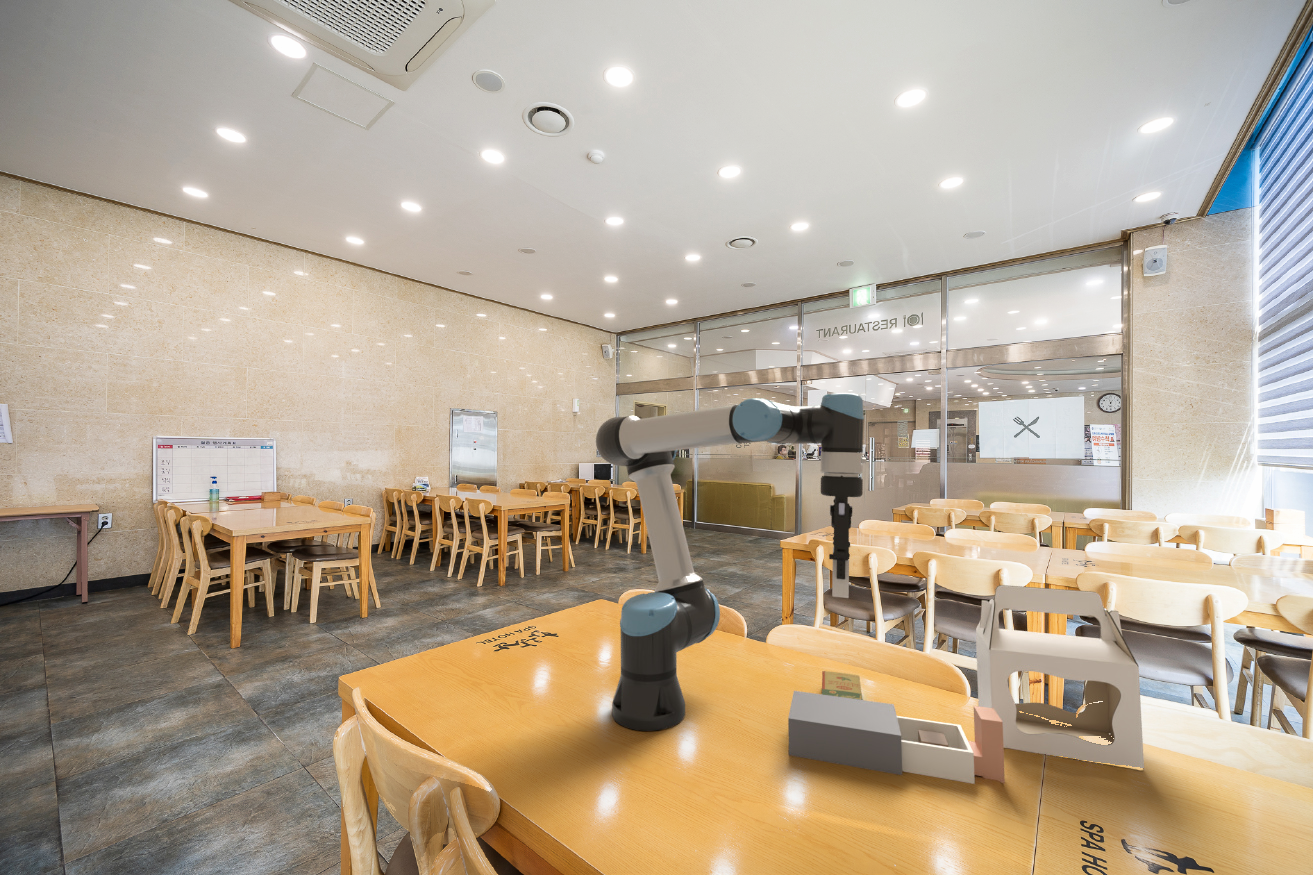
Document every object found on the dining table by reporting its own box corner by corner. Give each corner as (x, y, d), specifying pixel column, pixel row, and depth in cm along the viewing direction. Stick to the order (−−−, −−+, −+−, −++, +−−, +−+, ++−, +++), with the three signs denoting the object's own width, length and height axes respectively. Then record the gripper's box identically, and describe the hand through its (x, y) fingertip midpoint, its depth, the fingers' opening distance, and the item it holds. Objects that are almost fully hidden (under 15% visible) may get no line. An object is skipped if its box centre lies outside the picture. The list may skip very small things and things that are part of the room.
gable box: (1112, 735, 99) (1104, 586, 101) (1146, 772, 87) (1137, 602, 89) (977, 714, 107) (972, 577, 109) (991, 746, 95) (985, 590, 97)
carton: (860, 693, 118) (860, 674, 119) (865, 726, 103) (864, 704, 103) (822, 688, 121) (821, 669, 121) (821, 720, 106) (821, 698, 106)
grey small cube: (922, 765, 87) (921, 741, 88) (918, 753, 91) (918, 729, 91) (949, 770, 86) (948, 745, 86) (944, 757, 90) (943, 733, 90)
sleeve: (788, 759, 91) (788, 718, 91) (794, 727, 102) (793, 690, 102) (902, 779, 85) (901, 735, 85) (894, 743, 96) (893, 704, 96)
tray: (863, 767, 88) (862, 708, 88) (861, 739, 97) (860, 685, 97) (1009, 793, 81) (1006, 728, 81) (992, 760, 90) (990, 702, 90)
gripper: (866, 477, 86) (865, 607, 85) (859, 474, 109) (858, 576, 109) (819, 476, 88) (817, 602, 87) (822, 473, 112) (820, 572, 111)
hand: (839, 588), depth 98 cm, fingers open, 13 cm apart
